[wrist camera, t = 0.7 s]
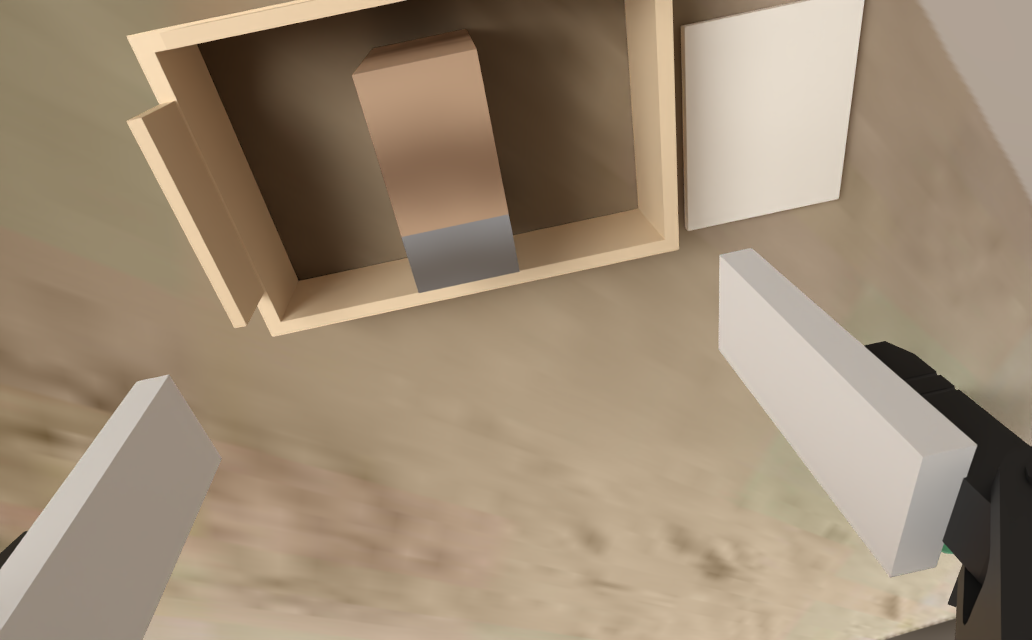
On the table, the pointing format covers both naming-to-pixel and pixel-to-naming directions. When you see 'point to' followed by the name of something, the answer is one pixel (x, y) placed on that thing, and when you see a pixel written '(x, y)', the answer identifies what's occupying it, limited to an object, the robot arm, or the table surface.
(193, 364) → the table surface
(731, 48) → the plate
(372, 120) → the walnut block
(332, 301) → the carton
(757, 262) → the robot arm
